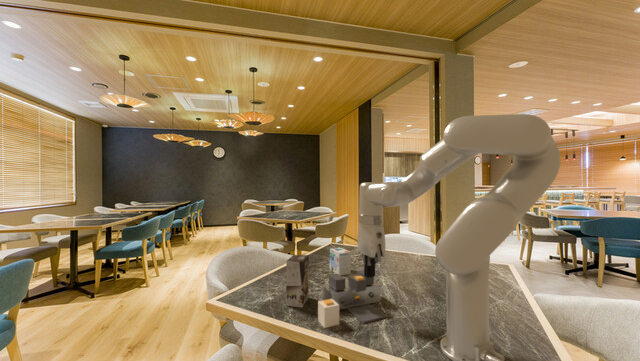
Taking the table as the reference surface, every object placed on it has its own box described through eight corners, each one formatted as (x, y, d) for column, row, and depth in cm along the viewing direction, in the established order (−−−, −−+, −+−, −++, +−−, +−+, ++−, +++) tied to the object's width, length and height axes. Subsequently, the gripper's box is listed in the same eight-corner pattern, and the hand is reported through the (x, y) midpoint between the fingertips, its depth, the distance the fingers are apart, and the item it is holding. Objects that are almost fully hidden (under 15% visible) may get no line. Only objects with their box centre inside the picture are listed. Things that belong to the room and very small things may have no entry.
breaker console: (381, 301, 98) (381, 285, 98) (332, 312, 90) (332, 294, 90) (368, 293, 106) (368, 277, 106) (322, 301, 98) (322, 285, 98)
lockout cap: (339, 324, 82) (339, 303, 82) (324, 328, 80) (324, 306, 80) (332, 317, 86) (332, 296, 87) (318, 320, 85) (318, 299, 85)
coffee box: (303, 307, 93) (303, 261, 93) (285, 306, 94) (285, 260, 95) (309, 297, 102) (309, 254, 102) (293, 295, 103) (293, 254, 104)
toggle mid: (365, 290, 92) (365, 277, 92) (357, 292, 91) (357, 279, 91) (356, 284, 98) (356, 272, 98) (348, 286, 96) (348, 273, 96)
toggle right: (373, 284, 98) (373, 274, 98) (365, 285, 97) (365, 275, 97) (364, 278, 104) (364, 269, 104) (356, 280, 102) (356, 270, 103)
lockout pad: (386, 317, 86) (386, 315, 86) (363, 323, 82) (363, 321, 82) (371, 306, 94) (370, 304, 94) (348, 310, 91) (348, 309, 91)
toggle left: (345, 289, 94) (345, 278, 94) (336, 290, 92) (336, 280, 92) (337, 283, 99) (337, 273, 99) (328, 284, 98) (328, 274, 98)
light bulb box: (329, 269, 135) (329, 248, 136) (340, 267, 138) (340, 246, 139) (339, 276, 126) (339, 253, 126) (351, 274, 129) (351, 251, 129)
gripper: (394, 223, 81) (393, 283, 81) (367, 216, 95) (366, 268, 95) (374, 224, 78) (373, 286, 78) (349, 217, 92) (348, 270, 92)
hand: (369, 276), depth 87 cm, fingers closed
